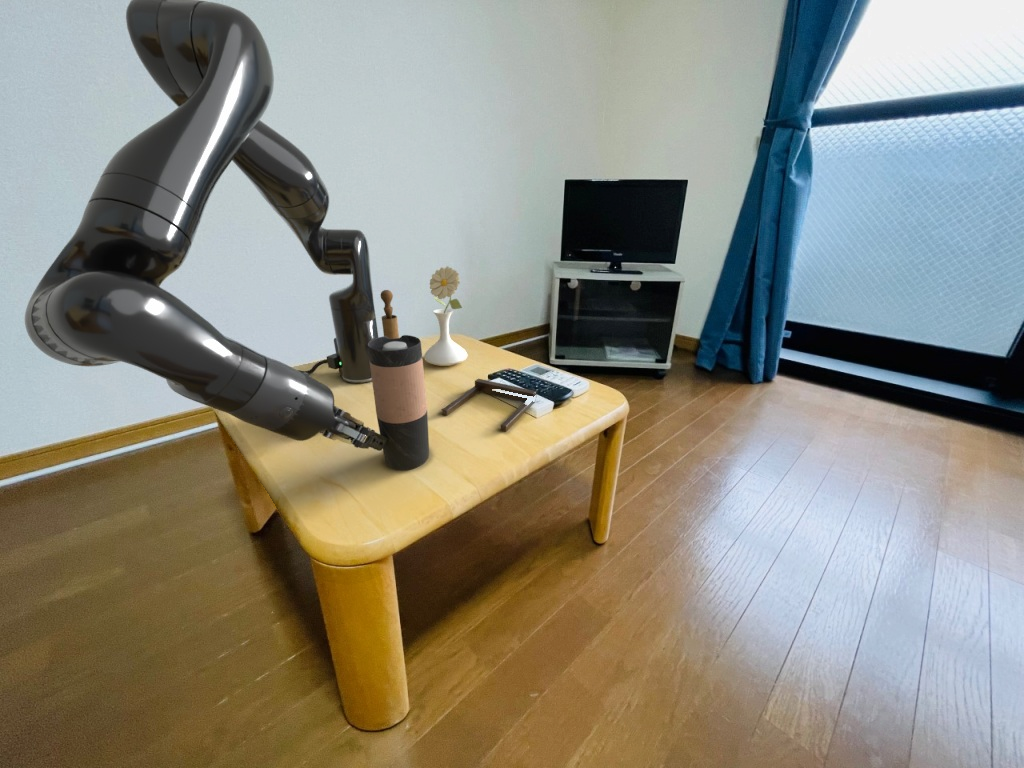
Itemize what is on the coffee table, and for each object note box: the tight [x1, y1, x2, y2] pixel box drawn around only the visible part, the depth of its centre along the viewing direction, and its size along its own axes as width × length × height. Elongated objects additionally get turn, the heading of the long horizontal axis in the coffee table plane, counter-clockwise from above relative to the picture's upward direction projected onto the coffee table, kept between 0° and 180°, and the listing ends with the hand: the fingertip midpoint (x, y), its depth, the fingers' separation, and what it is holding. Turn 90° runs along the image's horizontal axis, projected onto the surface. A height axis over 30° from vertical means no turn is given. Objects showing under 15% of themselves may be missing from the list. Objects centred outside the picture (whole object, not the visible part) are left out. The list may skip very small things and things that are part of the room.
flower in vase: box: [423, 265, 468, 367], centre depth 99 cm, size 13×11×25 cm
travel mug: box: [368, 334, 430, 471], centre depth 61 cm, size 8×8×20 cm
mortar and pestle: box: [380, 289, 400, 339], centre depth 104 cm, size 7×6×18 cm
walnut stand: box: [441, 378, 537, 433], centre depth 81 cm, size 14×14×2 cm
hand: (381, 443), depth 60 cm, fingers closed
